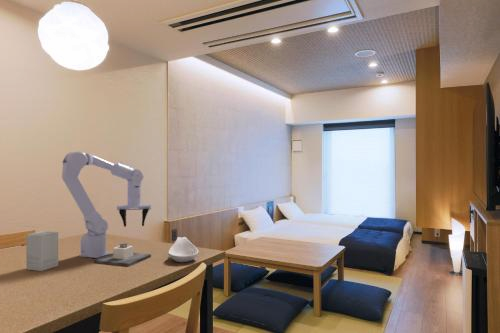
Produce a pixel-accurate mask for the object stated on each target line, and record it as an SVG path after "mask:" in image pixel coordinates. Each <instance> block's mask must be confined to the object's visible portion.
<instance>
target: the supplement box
mask: <svg viewBox="0 0 500 333" xmlns="http://www.w3.org/2000/svg"><path fill="white" fill-rule="evenodd" d="M25 238H26V239H25V240H26V249H25V250H26V252H25V253H26V261H25V262H26V266H25V268H26V270H28V271H29V270H30V271H38V272H43V271H46V270H49V269H53V268H55V267H59V232H58V231H49V230H48V231H46V230H45V231H44V230H42V231H38V232H33V233H29V234H26V237H25Z"/></svg>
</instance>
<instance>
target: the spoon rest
mask: <svg viewBox="0 0 500 333" xmlns="http://www.w3.org/2000/svg"><path fill="white" fill-rule="evenodd" d="M198 254H199V249H198V248H197V247H196V245H194V244H193V243H192V242H191V241H190V240H189V239H188V238H187V237H186V236H183V237H180V236H177V238H176V240H175V242H174V243H173V244H172V245H171V246H170V248H169V249H168V256H169V257H170V259H171V260H173V261H175V262H178V263H187V262H190V261H192V260H194V259H195V258H197V256H198Z"/></svg>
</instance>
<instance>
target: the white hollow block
mask: <svg viewBox="0 0 500 333" xmlns="http://www.w3.org/2000/svg"><path fill="white" fill-rule="evenodd" d="M133 253H134V245H127V248H120V245H117V246H115V247H113V248H112V254H113V258H115V259H127V258H129V257H132V256H133Z"/></svg>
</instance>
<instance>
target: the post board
mask: <svg viewBox="0 0 500 333" xmlns="http://www.w3.org/2000/svg"><path fill="white" fill-rule="evenodd" d="M119 246H120V248H127V246H128V242H120V243H119ZM151 257H152V254H150V253H140V252H133V256H132V257H129V258H127V259H115V258H113V253H110V254H107V255H105V256H102V257H99V258H94V259H93V263H94V264H105V265H115V266H122V267H123V266H124V267H131V266H133V265H135V264H138V263H140V262H142V261H145V260H147V259H149V258H151Z"/></svg>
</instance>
